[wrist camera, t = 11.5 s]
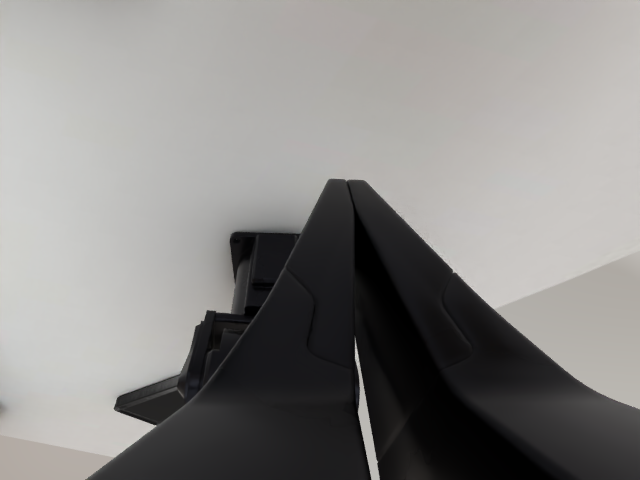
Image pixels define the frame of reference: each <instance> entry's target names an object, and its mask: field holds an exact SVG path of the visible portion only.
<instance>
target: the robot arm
mask: <svg viewBox="0 0 640 480" xmlns="http://www.w3.org/2000/svg"><path fill="white" fill-rule="evenodd" d="M236 239H239V240H236ZM230 247H231V255H232V263H233V271H234V279H235V290H234V297H233V304H232V310H231V314H230V313H217V312H216V311H210V310H207V312H206V316H205V320H204V321H201V324H200V325H198V326H196V328H195V332H194V337H193V341H192V345H191V349H190V352H189V355H188V357H187V359H186V362H185V364H184V366H183V369H182V371H181V374H180V376H179V378H178V383H177V390H178V391H179V393H180V394H181V395H182V397H183V398H184V406H183V407H182V408H180V409H179V410H178V411H176V412H175V413H174V414H172V415H171V416H170V417H168V418H167V419H166V420H164V421H163V422H162V423H160V424H159V425H158V426H156V427H155V428H154V429H152V430H151V431H150V432H148V433H147V434H146V435H144V436H143V437H142V438H140V439H139V440H138V441H136V442H135V443H134V444H132V445H131V446H130V447H128V448H127V449H126V450H124V451H123V452H122V453H120V454H119V455H118V456H116V457H115V458H114V459H113V460H111V461H110V462H109V463H107V464H106V465H104V466H103V467H102V468H101V469H99V470H98V471H96V472H95V473H94V474H93V475H91V476H90V477H88V478H87V479H86V480H371V475H370V470H369V465H368V460H367V455H366V450H365V445H364V441H363V436H362V431H361V426H360V421H359V416H358V408H359V395H360V394H359V393H360V387H359V375H358V369H357V365H356V361H355V338H356V344H357V350H358V355H359V361H360V367H361V373H362V378H363V384H364V389H365V395H366V401H367V407H368V412H369V418H370V424H371V429H372V435H373V441H374V447H375V452H376V458H377V461H378V463H377V464H378V470H379V476H380V480H640V409H637V408H635V407H632V406H629V405H626V404H623V403H621V402H618V401H615V400H613V399H611V398H608V397H606V396H604V395H602V394H600V393H598V392H596V391H594V390H593V389H591V388H589V387H587V386H586V385H584V384H583V383H581V382H580V381H578V380H577V379H575V378H574V377H573V376H571V375H570V374H569V373H568V372H566V371H565V370H564V369H563V368H561V367H560V366H559V365H558V364H557V363H555V362H554V361H553V360H552V359H551V358H550V357H549V356H547V355H546V354H545V353H544V352H543V351H541V350H540V349H539V348H538V347H537V346H536V345H534V344H533V343H532V342H531V341H529V340H528V339H527V338H526V337H525V336H523V334H521V333H520V332H519V331H518V330H517V329H516V328H514V327H513V326H512V325H511V324H510V323H508V322H507V321H506V320H505V319H504V318H503V317H501V315H499V314H498V313H497V312H496V311H495V310H494V309H493V308H491V307H490V306H489V305H488V304H487V303H486V302H485V301H484V300H483V299H482V298H481V297H480V296H479V295H478V294H477V293H475V292H474V291H473V290H472V289H471V288H470V287H469V286H468V285H467V284H466V283H465V282H464V281H463V280H462V279H461V278H460V277H459V276H458V275H457V274H456V273H453V270H452V269H451V268H450V267H449V266H448V265H447V264H446V263H445V262H444V261H443V260H442V259H441V258H440V257H439V256H438V254H437V253H436V252H435V251H434V250H433V249H432V248H431V247H430V246H429V245H428V244H427V243H426V242H425V241H424V240H423V239H422V238H421V237H420V236H419V235H418V234H417V233H416V232H415V231H414V230H413V229H412V228H411V227H410V226H409V225H408V224H407V223H406V222H405V221H404V220H403V219H402V218H401V217H400V216H399V215H398V214H397V213H396V212H395V211H394V210H393V209H392V208H391V207H390V206H389V205H388V204H387V203H386V202H385V201H384V200H383V199H382V198H381V197H380V196H379V195H378V194H377V192H376V191H375V190H374V189H373V188H372V187H371V186H370V185H369V184H368V183H367V182H366V181H364V180H348V181H347V182H346V180H344V179H329V180H328V181H327V183H326V185H325V187H324V189H323V191H322V193H321V195H320V197H319V199H318V201H317V203H316V205H315V207H314V209H313V211H312V213H311V215H310V217H309V219H308V221H307V223H306V225H305V227H304V229H303V231H302V233H301V234H283V233H250V232H234V233H232V234H231V237H230Z"/></svg>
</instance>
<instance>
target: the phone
mask: <svg viewBox="0 0 640 480" xmlns="http://www.w3.org/2000/svg"><path fill="white" fill-rule="evenodd" d="M178 378H179V376H177V377H174V378H171V379H168V380H166V381H163V382H160V383H157V384H154V385H152V386H149V387H146V388H143V389H140V390H138V391H135V392H132V393H129V394H126V395H124V396H121V397H118V398H117V401H116V404H115V407H114V410H115V411H117V412H120V413H123V414H125V415H128V416H131V417H134V418H136V419H139V420H142V421H145V422H148V423H150V424H153V425H156V426H158V425H159V424H160V423H162V422H163V421H164V420H166V419H167V418H168V417H170V416H171V415H172V414H174V413H175V412H176V411H178V410H179V409H180V408H182V407H183V406H184V398H183V397H182V395H181V394H180V393H179V391H178V390H177V383H178Z"/></svg>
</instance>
